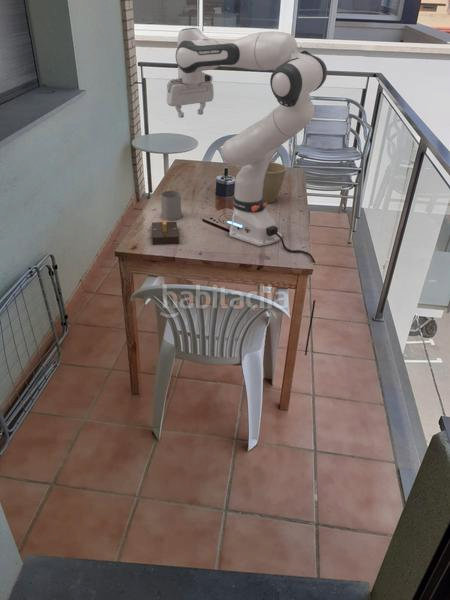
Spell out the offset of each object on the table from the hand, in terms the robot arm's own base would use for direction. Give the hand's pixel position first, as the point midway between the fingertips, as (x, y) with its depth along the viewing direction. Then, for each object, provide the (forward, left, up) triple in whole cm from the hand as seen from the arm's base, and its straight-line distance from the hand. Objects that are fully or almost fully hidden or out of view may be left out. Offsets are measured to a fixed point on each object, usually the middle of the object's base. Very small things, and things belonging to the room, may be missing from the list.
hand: (190, 115), depth 185 cm
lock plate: (-11, +23, -41) cm, 48 cm away
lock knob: (-11, +23, -38) cm, 46 cm away
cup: (+3, +9, -41) cm, 42 cm away
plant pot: (-11, -37, -41) cm, 56 cm away
